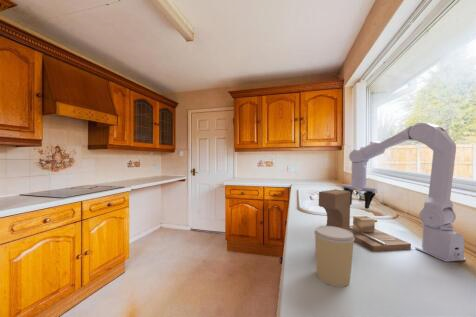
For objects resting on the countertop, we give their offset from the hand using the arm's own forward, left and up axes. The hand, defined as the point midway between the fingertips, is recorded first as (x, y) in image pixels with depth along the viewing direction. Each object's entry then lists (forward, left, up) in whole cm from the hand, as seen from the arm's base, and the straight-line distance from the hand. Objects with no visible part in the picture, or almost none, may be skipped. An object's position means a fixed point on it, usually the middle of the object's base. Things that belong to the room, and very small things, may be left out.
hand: (357, 206), depth 93 cm
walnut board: (-12, +5, -10) cm, 16 cm away
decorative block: (-20, +26, -10) cm, 34 cm away
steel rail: (-12, +8, -8) cm, 16 cm away
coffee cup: (-34, +36, -10) cm, 51 cm away
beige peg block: (-8, +2, -8) cm, 11 cm away
